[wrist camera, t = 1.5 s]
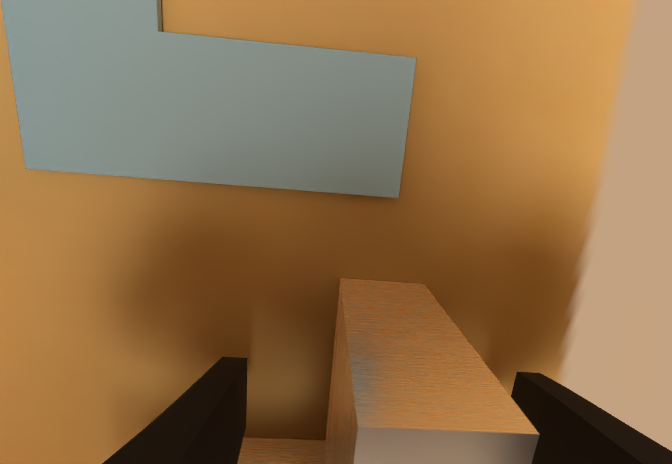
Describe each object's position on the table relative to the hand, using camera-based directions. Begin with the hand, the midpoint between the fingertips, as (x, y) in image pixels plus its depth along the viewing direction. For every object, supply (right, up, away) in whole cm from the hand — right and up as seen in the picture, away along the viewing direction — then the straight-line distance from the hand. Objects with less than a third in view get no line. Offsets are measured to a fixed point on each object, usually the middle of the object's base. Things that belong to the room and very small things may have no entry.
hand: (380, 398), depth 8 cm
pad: (-4, +10, -1) cm, 11 cm away
